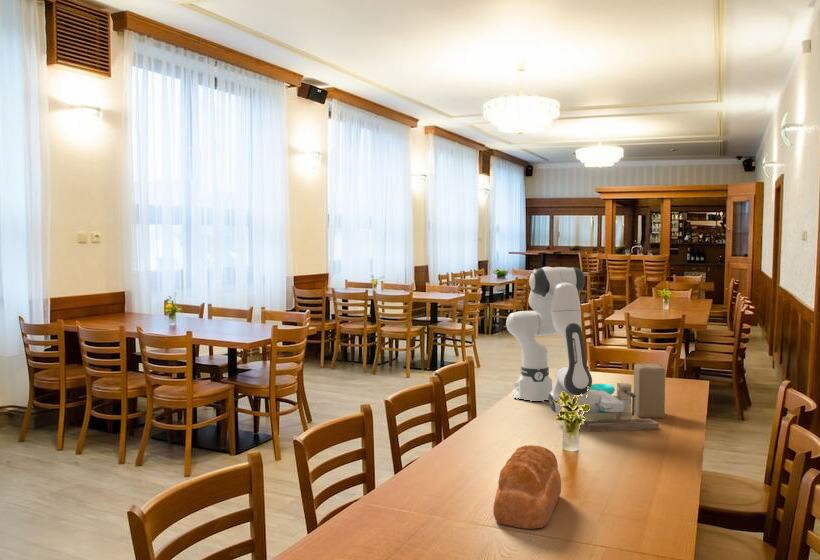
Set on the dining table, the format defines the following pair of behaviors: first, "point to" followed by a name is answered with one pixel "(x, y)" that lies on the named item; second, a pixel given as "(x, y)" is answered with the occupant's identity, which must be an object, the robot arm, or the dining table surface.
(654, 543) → the dining table surface
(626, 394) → the gauge
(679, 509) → the dining table surface
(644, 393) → the grey rectangular block
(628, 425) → the board
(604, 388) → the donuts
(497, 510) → the bread
